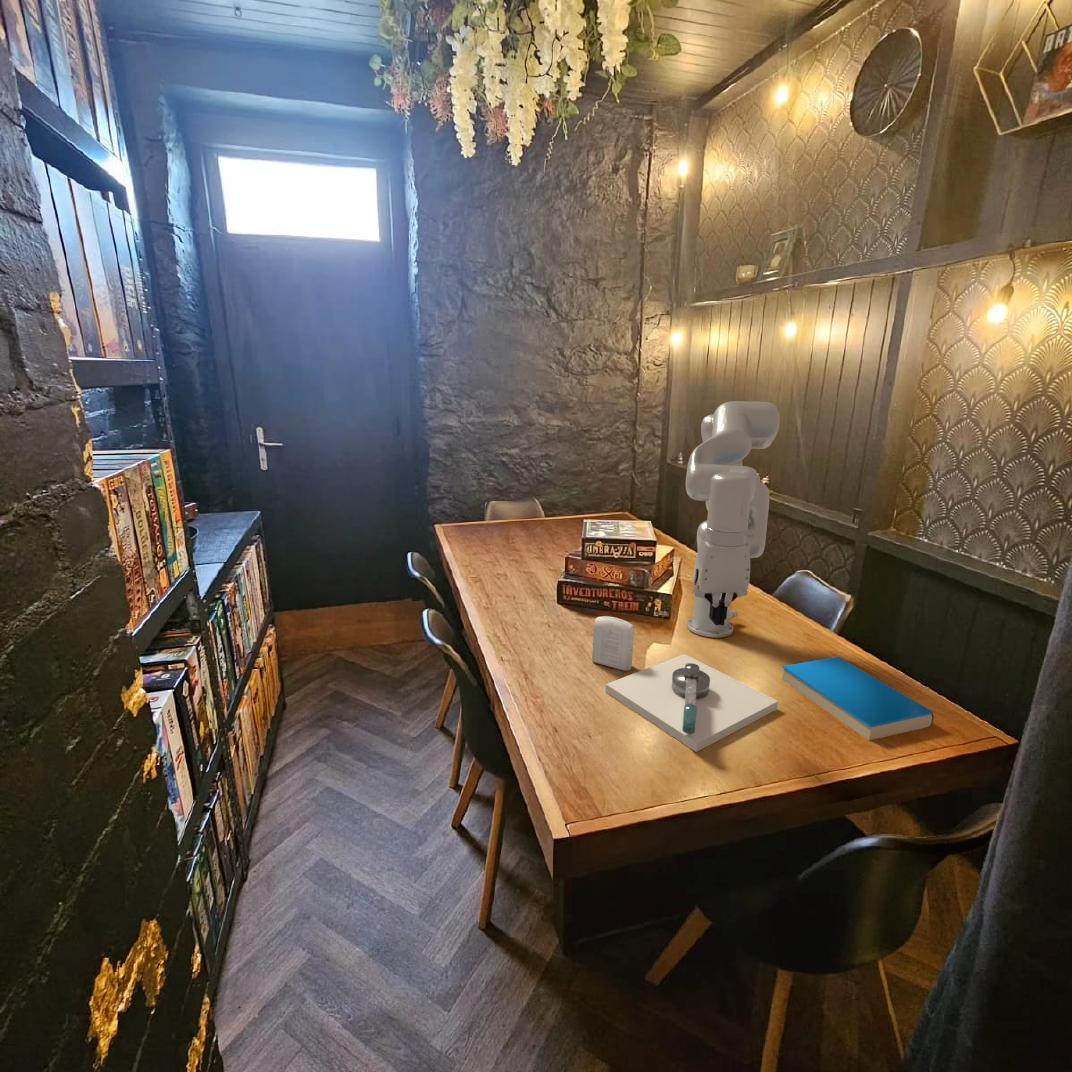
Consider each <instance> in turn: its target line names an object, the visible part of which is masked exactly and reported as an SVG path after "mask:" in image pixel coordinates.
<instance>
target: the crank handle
mask: <svg viewBox="0 0 1072 1072" xmlns="http://www.w3.org/2000/svg"><path fill="white" fill-rule="evenodd" d="M709 685H710V677H709V676H708V675H707V674H706V673H705V672H703V671H701V670H699V666H698V665H696V664H693V663H688V664H686V665H685V668H680V669H677V670H675V671H674V672H673V675H672V690H673V691H674V692H675V693H676V694H678V695H680V696H682V697H685V706H684V715H683V726H682V730H683V731H684V732H685V733H688V734H693V733H694V732H695V726H696V716H697V707H696V699H699V698H703V697H705V696H707V695H708V693H709Z"/></svg>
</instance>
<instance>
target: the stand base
mask: <svg viewBox="0 0 1072 1072" xmlns="http://www.w3.org/2000/svg"><path fill="white" fill-rule="evenodd" d="M688 663H693V664H696V665H698V666H699V670H701V671H703V672H705V673H706V674H707V675H708V676H709V677H710V685H709V693H708V695H707V696H705V697H703V698H699V699H696V707H697V716H696V726H695V732H694V733H693V734H688V733H685V732H684V731H683V730H682V726H683V715H684V706H685V697H682V696H680V695H678V694H676V693H675V692H674V691H673V690H672V675H673V672H674V671H675V670H677V669H680V668H685V665H686V664H688ZM605 693H606V694H608V695H609V696H611V697H613V698H614V699H615V700H617V701H618V702H620V703H621V704H623V705H624V706H626V707H628V708H629V709H630V710H632V711H634V712H635V713H636V712H637V714H638V715H639V716H641V717H642V718H644V719H646V720H647V721H649V722H650V723H652V724H653V725H655V726H656V727H658V728H659V729H660V730H662V731H664V732H665V733H667V735H669V736H671V737H673V738H674V739H676V740H677V741H679V742H680V743H682V744H683V745H685V746H686V747H688V748H689V749H691V750H692V751H694V752H695V753H698V752H700V751H701V750H703V749H705V748H707V747H709V746H710V745H713V744H714V743H716V742H719V741H720V740H722V739H724V738H725V737H728V736H730V735H731V734H733V733H735V732H738V731H739V730H741V729H742V728H744V727H746V726H748V725H751V724H752V723H754V722H756V721H758V720H759V719H762V718H763V717H765V716H767V715H769V714H771V713H773V712H774V711H776V710H778V704H779V700H777V699H775V698H774V697H770V696H769V695H766V694H764V693H762V692H760V691H759V690H757V689H755V688H753V687H751V686H749V685H747V684H745V683H743V682H741V681H738V680H737V679H735V678H733V677H731V676H729V675H727V674H725V673H723V672H721V671H719V670H717V669H715V668H713V667H711V666H709V665H707V664H705V663H703V662H701V661H699V660H698V659H695V658H693V657H692V656H690V655H687V654H685V653H683V654H681V655H678V656H675V657H673V658H670V659H668V660H666V661H663V662H660V663H657V664H655V665H652V666H648V668H644V669H642V670H639V671H637V672H633V673H632V674H628V675H626V676H624V677H621V678H619V679H616V680H614V681H613V680H612V681H611V682H608V683H606V684H605Z"/></svg>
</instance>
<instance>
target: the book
mask: <svg viewBox="0 0 1072 1072" xmlns="http://www.w3.org/2000/svg"><path fill="white" fill-rule="evenodd" d="M782 669H783V671H782V678H781V679H782V681H784V682H785V683H787V684H788V685H790V686H791V687H792V688H793V689H795V690H797V691H798V692H799V693H801V694H802V695H804V696H805V697H807V698H808V699H809V700H810V701H812V702H814V704H817V705H818V706H820V707H821V708H822V709H824V710H825V711H826V712H827V713H829V714H831V715H832V716H833V717H835V718H836V719H838V720H839V721H841V722H842V723H844V725H846V726H848V727H849V728H850V729H852V730H853V731H855V733H856V732H857V734H859V735H861V736H862V737H863V738H865V739H866V740H867V741H872V740H873V741H874V740H877V739H880V738H886V737H889V736H895V735H899V734H904V733H908V732H912V731H917V730H920V729H925V728H928V727H931V726H932V724H933V723H934V711H933V710H931V709H929V708H927V707H926V706H924V705H922V704H920V703H919V702H917V701H916V700H913V699H912V698H910V697H908V696H907V695H905V694H903V693H902V692H900V691H898V690H896V689H894V688H893V687H892V686H889V685H888V684H886V683H884V682H882V681H881V680H879V679H877V678H876V677H874V676H872V675H871V674H869V673H867V672H865V671H864V670H862V669H860V668H858V667H857V666H855V665H853V664H851V663H850V662H848V661H847V660H845V659H843V658H841V657H839V656H835V657H829V658H823V659H817V660H811V661H805V662H800V663H795V664H794V663H793V664H787V665H783V666H782Z"/></svg>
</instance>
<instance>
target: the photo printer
mask: <svg viewBox="0 0 1072 1072" xmlns="http://www.w3.org/2000/svg"><path fill="white" fill-rule="evenodd" d="M634 636H635V627H634V624H632V623H630V621H629V622H628V621H626V620H625V619H621V618H619V617H615V616H608V615H607V616H606V615H605V616H597V617H596V618H594V624H593V632H592V652H591V653H592V654H591V661H592V662H593V663H596V664H599V665H603V666H607V667H609V668H614V669H617V670H621V671H626V672H627V671H630V670H631V669H632V666H633V656H634V655H633V654H634V653H633V651H634V641H635V637H634Z"/></svg>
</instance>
